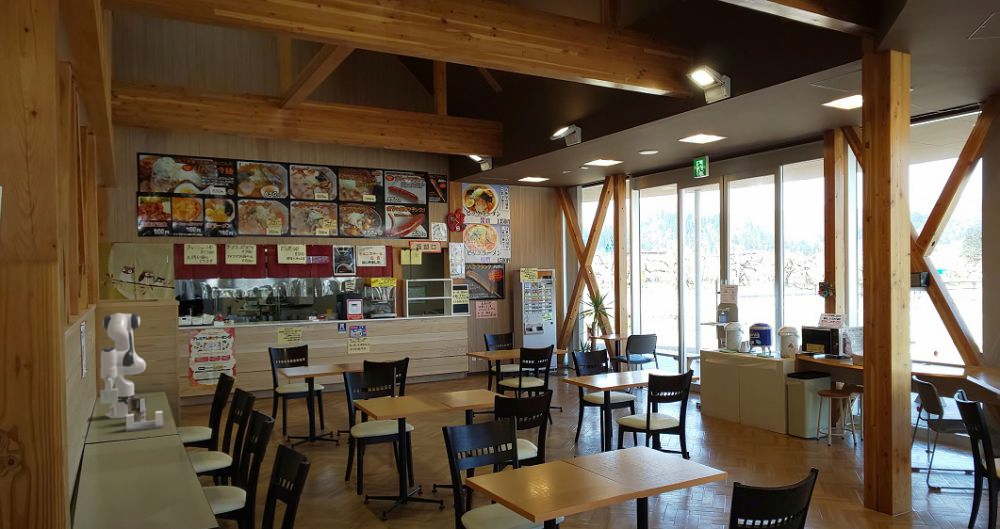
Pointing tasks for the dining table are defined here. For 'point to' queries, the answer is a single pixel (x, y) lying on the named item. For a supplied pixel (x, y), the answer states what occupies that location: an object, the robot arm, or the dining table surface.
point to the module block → (112, 399)
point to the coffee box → (137, 408)
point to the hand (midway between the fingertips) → (109, 396)
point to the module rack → (144, 425)
